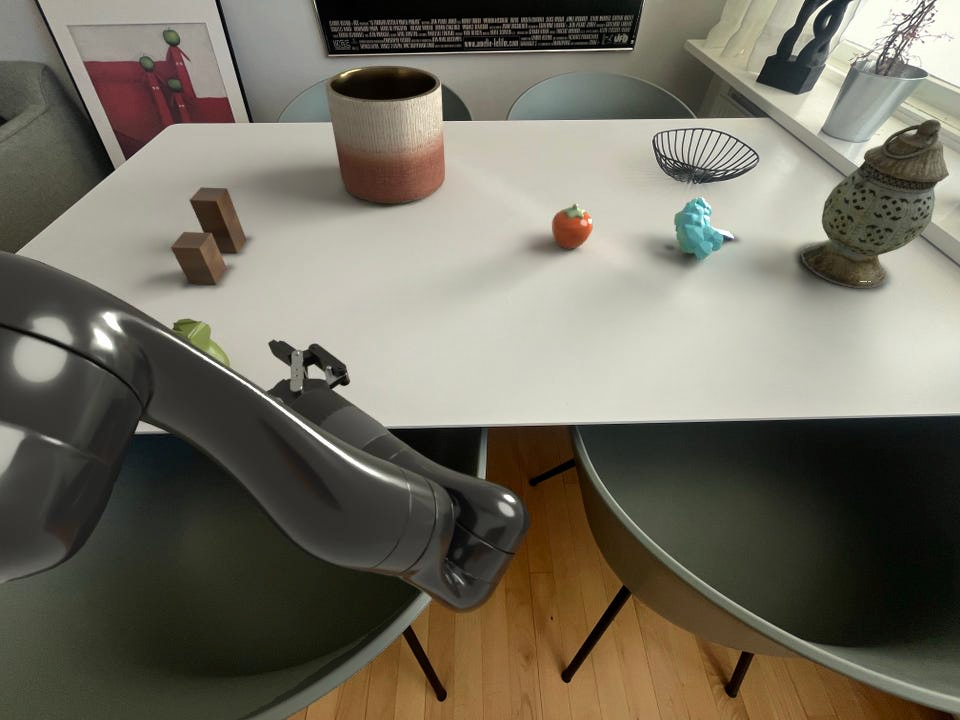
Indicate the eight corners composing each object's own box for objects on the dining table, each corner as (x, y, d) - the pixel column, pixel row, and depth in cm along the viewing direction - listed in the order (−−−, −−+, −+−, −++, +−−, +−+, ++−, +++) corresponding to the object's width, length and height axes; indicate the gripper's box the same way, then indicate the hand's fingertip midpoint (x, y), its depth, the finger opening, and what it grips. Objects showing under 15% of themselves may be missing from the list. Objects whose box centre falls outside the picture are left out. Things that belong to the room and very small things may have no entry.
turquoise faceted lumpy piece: (680, 237, 99) (648, 221, 89) (721, 209, 94) (692, 188, 83) (706, 281, 96) (676, 270, 85) (749, 254, 90) (723, 238, 79)
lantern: (888, 298, 80) (1010, 147, 62) (796, 275, 84) (885, 127, 66) (880, 256, 89) (984, 113, 71) (796, 237, 93) (875, 97, 75)
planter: (354, 160, 113) (337, 63, 98) (447, 162, 113) (445, 66, 99) (333, 207, 97) (310, 100, 83) (442, 209, 98) (438, 103, 83)
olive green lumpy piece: (207, 362, 67) (175, 306, 60) (242, 367, 66) (215, 311, 59) (183, 392, 63) (147, 337, 56) (221, 397, 63) (190, 342, 55)
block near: (216, 284, 79) (199, 248, 74) (189, 283, 79) (170, 247, 74) (227, 268, 82) (211, 232, 77) (200, 267, 82) (183, 231, 77)
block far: (237, 253, 85) (216, 201, 78) (212, 252, 85) (189, 200, 78) (246, 239, 89) (227, 188, 81) (222, 238, 89) (200, 187, 81)
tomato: (594, 240, 91) (603, 201, 85) (578, 259, 86) (586, 219, 81) (559, 228, 93) (565, 189, 88) (542, 246, 89) (547, 206, 83)
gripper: (385, 373, 48) (283, 309, 55) (264, 473, 40) (161, 383, 47) (394, 418, 53) (300, 355, 60) (289, 514, 45) (193, 429, 52)
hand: (239, 367), depth 53 cm, fingers open, 8 cm apart
